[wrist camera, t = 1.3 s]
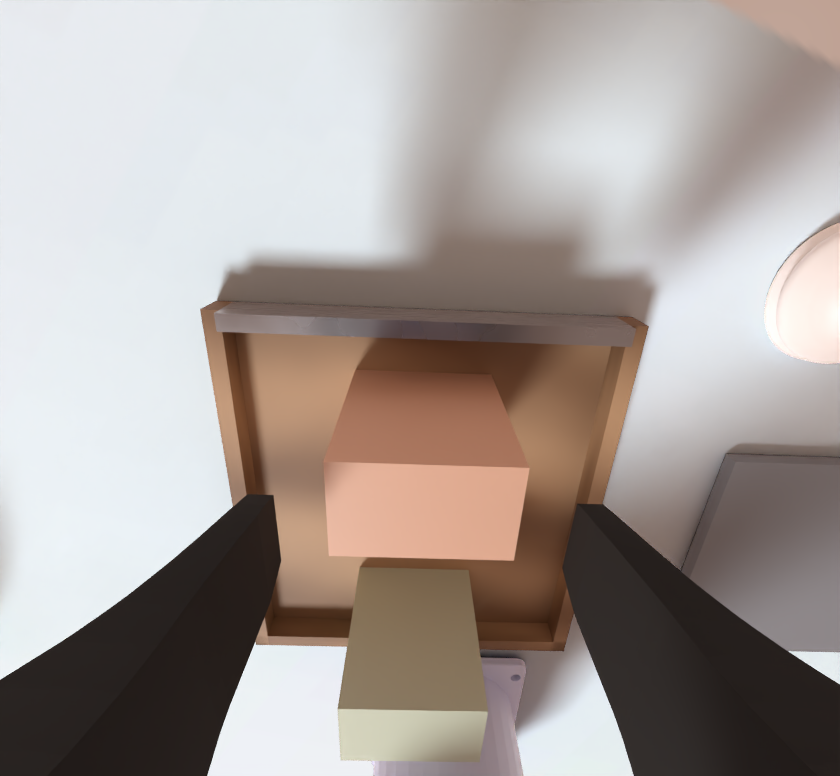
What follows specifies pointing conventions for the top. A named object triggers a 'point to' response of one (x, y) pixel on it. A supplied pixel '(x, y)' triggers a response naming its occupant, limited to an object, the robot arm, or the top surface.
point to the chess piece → (808, 301)
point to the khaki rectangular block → (412, 669)
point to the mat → (774, 547)
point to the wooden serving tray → (418, 352)
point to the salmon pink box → (424, 469)
